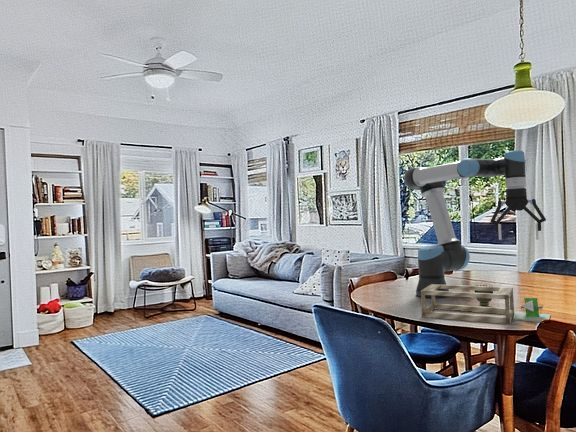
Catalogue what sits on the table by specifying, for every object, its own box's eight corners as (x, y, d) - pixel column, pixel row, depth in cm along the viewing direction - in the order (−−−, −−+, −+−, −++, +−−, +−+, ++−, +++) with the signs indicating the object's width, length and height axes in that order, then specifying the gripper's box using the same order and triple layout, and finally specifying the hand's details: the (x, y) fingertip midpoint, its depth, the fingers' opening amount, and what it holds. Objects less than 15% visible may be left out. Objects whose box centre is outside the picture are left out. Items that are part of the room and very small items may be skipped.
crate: (422, 316, 165) (420, 290, 165) (432, 308, 179) (431, 284, 179) (509, 324, 149) (508, 295, 149) (514, 314, 163) (512, 287, 163)
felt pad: (513, 319, 154) (513, 318, 154) (516, 313, 164) (516, 311, 164) (549, 322, 149) (549, 321, 149) (550, 315, 158) (549, 314, 158)
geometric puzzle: (519, 306, 162) (520, 292, 158) (539, 307, 160) (541, 292, 155) (522, 322, 157) (523, 307, 152) (543, 322, 154) (545, 307, 150)
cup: (493, 308, 174) (492, 288, 174) (473, 306, 178) (472, 287, 178) (495, 304, 181) (494, 285, 181) (476, 303, 184) (475, 284, 184)
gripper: (481, 190, 183) (484, 240, 183) (550, 185, 169) (553, 239, 169) (484, 190, 189) (486, 239, 189) (551, 186, 176) (553, 238, 176)
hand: (518, 239), depth 179 cm, fingers open, 13 cm apart
